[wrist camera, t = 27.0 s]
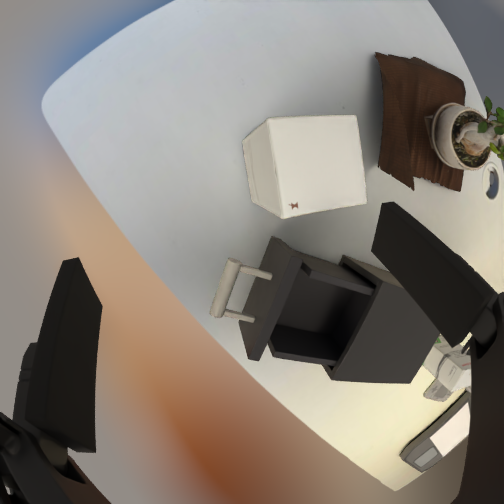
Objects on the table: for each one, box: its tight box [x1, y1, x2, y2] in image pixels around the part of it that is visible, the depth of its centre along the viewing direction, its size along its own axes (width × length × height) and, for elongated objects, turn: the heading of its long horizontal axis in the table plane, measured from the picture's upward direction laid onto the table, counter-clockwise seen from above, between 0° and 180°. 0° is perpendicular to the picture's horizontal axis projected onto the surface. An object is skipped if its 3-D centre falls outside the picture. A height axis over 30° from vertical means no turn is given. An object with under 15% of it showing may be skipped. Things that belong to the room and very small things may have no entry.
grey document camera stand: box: [400, 391, 471, 473], centre depth 47 cm, size 38×31×32 cm
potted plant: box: [375, 52, 504, 192], centre depth 24 cm, size 20×19×25 cm
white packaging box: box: [242, 115, 367, 219], centre depth 25 cm, size 7×7×13 cm
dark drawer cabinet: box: [322, 255, 440, 384], centre depth 34 cm, size 15×13×10 cm
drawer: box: [210, 236, 377, 366], centre depth 31 cm, size 18×11×8 cm, turn 70°
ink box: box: [422, 336, 471, 392], centre depth 39 cm, size 9×5×12 cm, turn 79°
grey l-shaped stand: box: [424, 378, 471, 402], centre depth 46 cm, size 13×9×10 cm
